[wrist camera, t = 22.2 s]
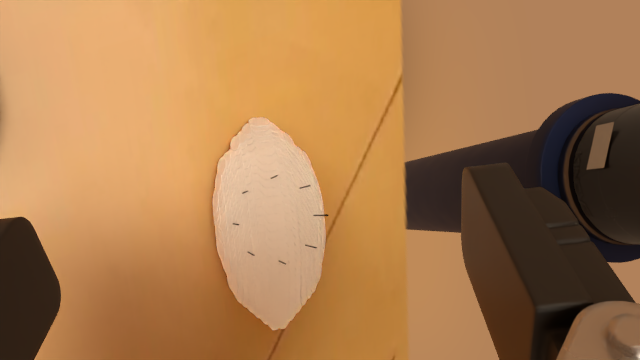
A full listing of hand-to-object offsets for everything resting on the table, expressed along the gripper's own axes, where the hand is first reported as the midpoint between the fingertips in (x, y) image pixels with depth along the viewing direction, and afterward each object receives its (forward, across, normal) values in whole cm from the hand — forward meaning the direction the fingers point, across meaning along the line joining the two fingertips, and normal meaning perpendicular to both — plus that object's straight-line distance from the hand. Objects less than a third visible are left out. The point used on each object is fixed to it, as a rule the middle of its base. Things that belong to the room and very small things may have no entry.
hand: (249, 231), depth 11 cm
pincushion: (+18, +3, +13) cm, 22 cm away
